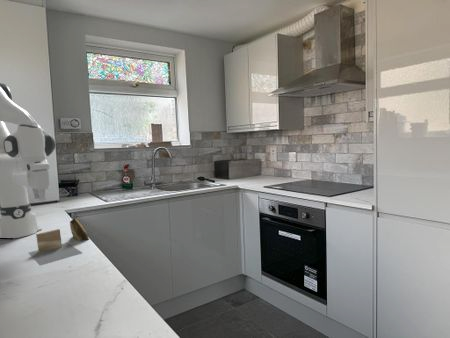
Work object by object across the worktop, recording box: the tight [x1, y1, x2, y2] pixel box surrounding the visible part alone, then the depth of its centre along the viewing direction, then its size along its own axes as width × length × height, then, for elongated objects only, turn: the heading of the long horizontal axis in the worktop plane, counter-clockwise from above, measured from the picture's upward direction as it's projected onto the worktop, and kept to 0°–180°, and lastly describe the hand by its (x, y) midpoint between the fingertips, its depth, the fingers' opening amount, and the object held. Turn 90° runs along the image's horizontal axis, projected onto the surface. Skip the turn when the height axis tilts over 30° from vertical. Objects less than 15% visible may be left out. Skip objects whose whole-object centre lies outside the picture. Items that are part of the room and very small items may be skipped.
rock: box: [69, 217, 90, 242], centre depth 137 cm, size 11×9×10 cm
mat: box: [28, 242, 83, 266], centre depth 120 cm, size 19×14×1 cm
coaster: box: [35, 228, 63, 253], centre depth 124 cm, size 2×8×7 cm, turn 132°
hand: (39, 199), depth 127 cm, fingers open, 7 cm apart
